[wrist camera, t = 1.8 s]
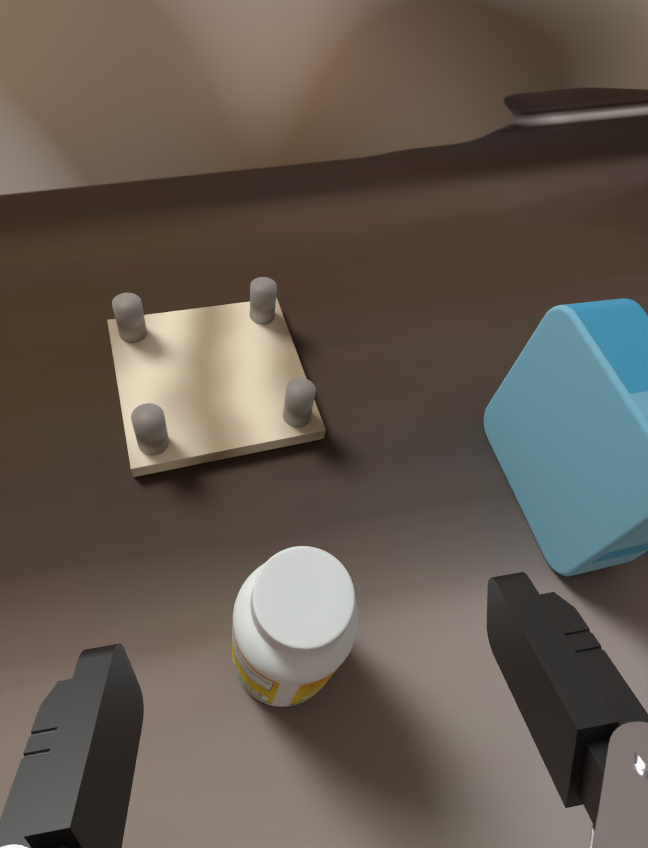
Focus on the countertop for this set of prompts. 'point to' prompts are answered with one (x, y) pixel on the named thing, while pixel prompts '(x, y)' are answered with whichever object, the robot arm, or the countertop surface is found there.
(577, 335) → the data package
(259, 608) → the supplement bottle
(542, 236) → the countertop surface
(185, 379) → the pin base
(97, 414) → the countertop surface
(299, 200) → the countertop surface
